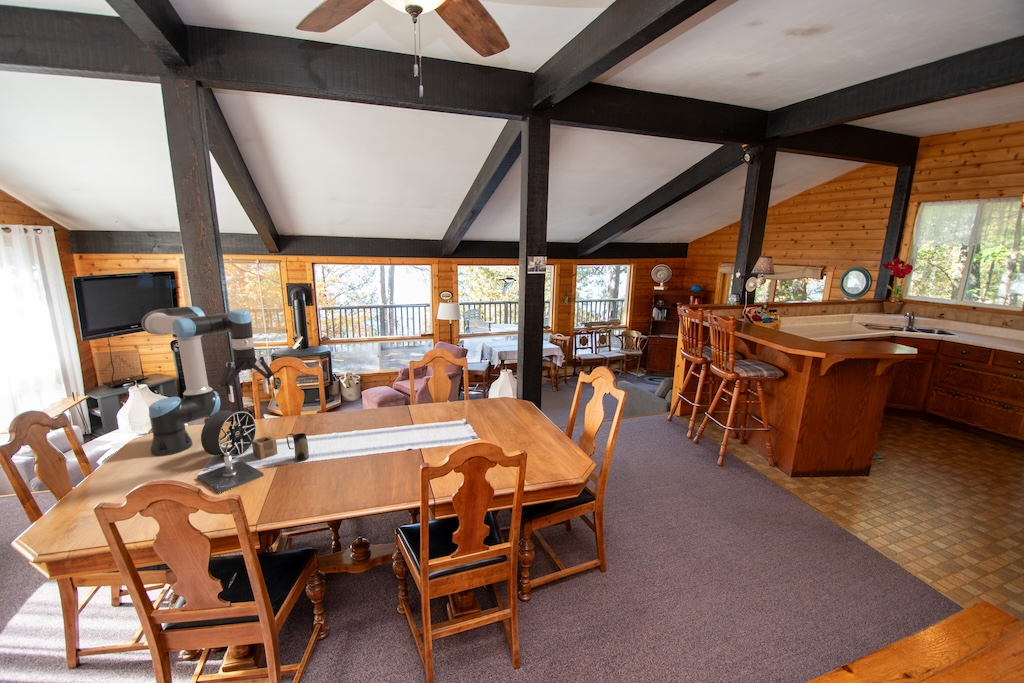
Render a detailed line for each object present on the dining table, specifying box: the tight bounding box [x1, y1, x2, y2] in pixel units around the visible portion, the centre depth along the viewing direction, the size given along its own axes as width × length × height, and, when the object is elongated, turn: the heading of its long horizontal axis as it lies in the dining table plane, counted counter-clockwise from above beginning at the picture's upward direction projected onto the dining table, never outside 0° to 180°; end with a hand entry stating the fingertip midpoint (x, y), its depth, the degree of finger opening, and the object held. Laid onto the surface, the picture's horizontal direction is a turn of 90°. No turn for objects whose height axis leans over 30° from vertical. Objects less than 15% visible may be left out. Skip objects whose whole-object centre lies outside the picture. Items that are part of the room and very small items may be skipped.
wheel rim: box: [200, 410, 257, 458], centre depth 189 cm, size 20×9×20 cm, turn 168°
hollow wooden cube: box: [251, 435, 278, 461], centre depth 189 cm, size 7×7×7 cm
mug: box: [285, 432, 310, 463], centre depth 184 cm, size 8×6×12 cm
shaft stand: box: [196, 452, 265, 494], centre depth 169 cm, size 20×16×11 cm
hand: (249, 397), depth 178 cm, fingers open, 13 cm apart
